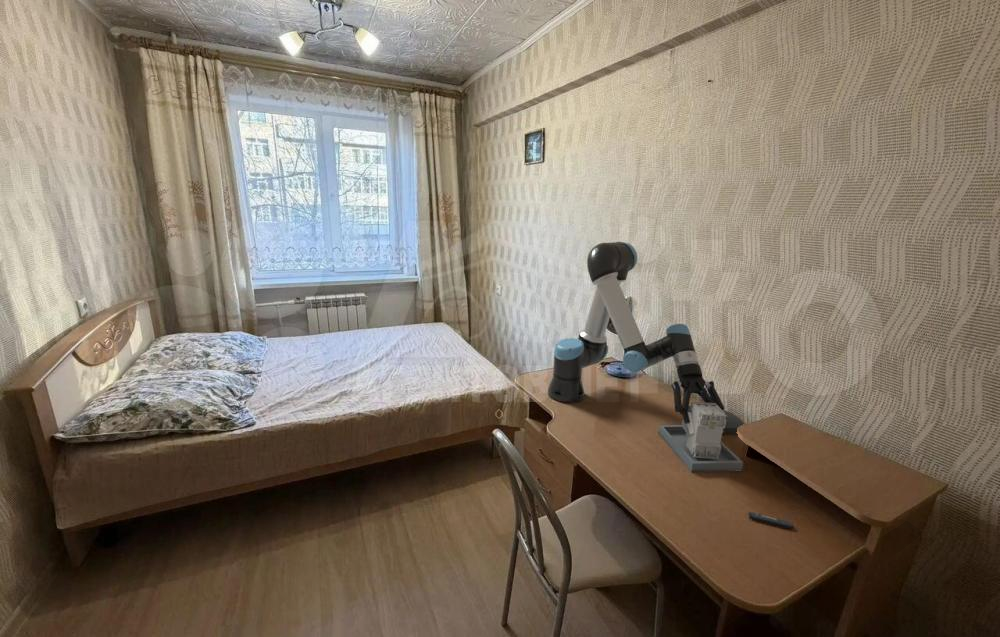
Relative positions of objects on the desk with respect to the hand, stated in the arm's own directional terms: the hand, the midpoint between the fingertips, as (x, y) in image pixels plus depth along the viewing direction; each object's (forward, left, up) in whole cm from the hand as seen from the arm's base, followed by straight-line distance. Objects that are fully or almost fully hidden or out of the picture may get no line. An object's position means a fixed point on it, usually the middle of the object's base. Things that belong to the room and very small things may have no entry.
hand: (706, 433), depth 128 cm
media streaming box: (-20, +18, -9) cm, 29 cm away
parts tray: (-3, 0, -8) cm, 9 cm away
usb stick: (+28, +2, -9) cm, 30 cm away
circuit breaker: (-4, 0, -7) cm, 8 cm away
